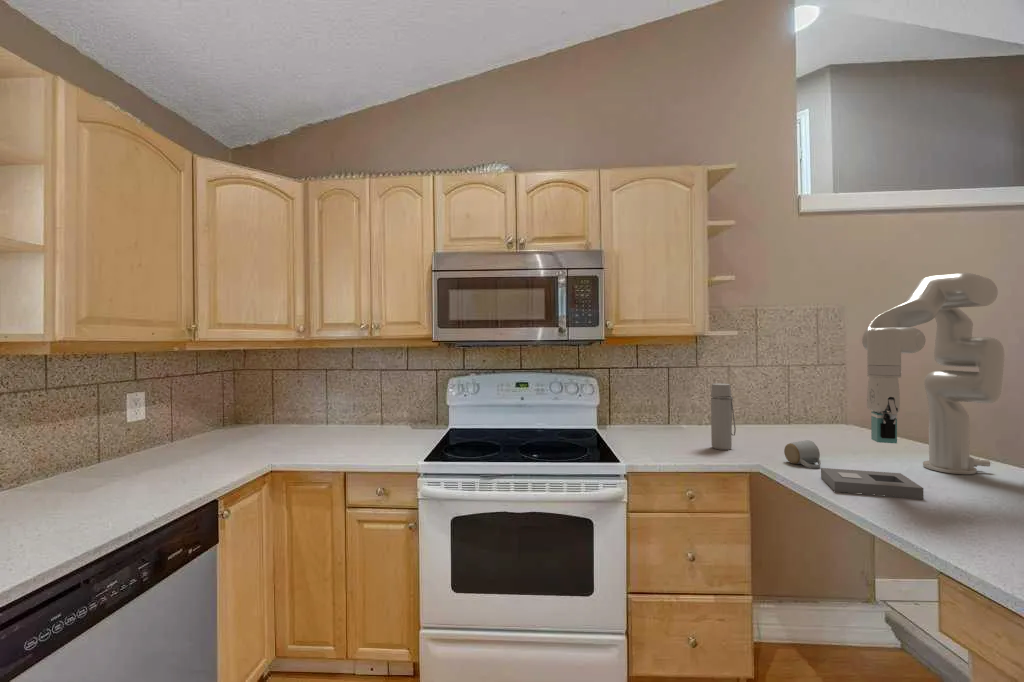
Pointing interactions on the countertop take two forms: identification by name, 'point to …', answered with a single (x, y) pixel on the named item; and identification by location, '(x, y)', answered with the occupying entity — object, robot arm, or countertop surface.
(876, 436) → the block
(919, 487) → the block
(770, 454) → the countertop surface
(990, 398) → the robot arm
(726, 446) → the water bottle
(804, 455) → the ceramic mug
